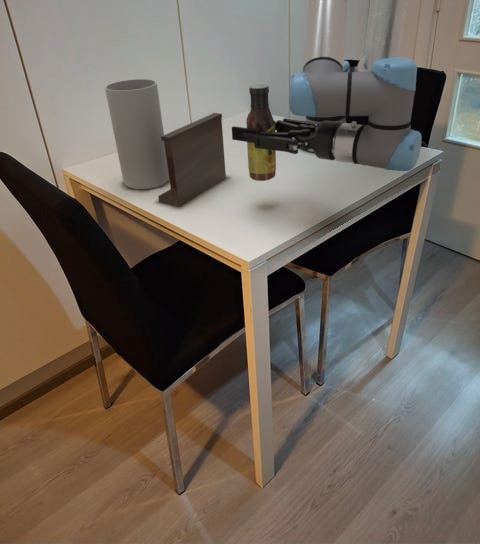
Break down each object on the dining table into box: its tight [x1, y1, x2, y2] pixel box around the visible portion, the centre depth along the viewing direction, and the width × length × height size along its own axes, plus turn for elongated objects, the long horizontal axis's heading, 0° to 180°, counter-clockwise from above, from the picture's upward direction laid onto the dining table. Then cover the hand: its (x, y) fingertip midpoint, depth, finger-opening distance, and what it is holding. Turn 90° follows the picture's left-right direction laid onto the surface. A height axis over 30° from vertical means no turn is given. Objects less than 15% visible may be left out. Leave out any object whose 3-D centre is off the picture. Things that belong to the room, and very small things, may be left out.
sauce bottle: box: [246, 83, 277, 182], centre depth 105 cm, size 6×6×20 cm
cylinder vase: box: [104, 78, 170, 190], centre depth 125 cm, size 12×12×25 cm
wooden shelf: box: [157, 112, 227, 208], centre depth 120 cm, size 6×21×17 cm, turn 147°
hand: (241, 128), depth 108 cm, fingers closed on sauce bottle, 6 cm apart
